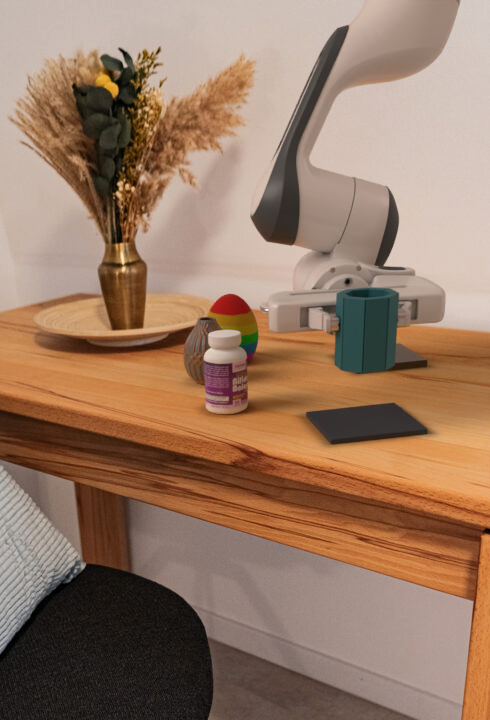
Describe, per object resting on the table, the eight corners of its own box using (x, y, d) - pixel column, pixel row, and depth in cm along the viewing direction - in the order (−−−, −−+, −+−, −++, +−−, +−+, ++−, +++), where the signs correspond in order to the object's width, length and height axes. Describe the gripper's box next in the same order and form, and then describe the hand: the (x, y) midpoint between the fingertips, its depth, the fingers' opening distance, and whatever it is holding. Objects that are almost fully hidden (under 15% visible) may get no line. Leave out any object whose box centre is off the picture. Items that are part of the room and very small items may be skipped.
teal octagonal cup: (381, 355, 97) (385, 285, 94) (401, 369, 92) (406, 295, 88) (329, 360, 97) (331, 290, 94) (346, 375, 91) (348, 301, 88)
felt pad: (394, 407, 102) (394, 402, 102) (427, 434, 93) (428, 428, 93) (305, 416, 101) (305, 411, 101) (331, 444, 92) (331, 439, 92)
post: (399, 349, 126) (404, 260, 120) (427, 366, 117) (433, 270, 111) (334, 356, 125) (336, 266, 119) (357, 374, 116) (360, 277, 110)
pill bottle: (242, 416, 103) (240, 338, 99) (201, 414, 105) (197, 338, 101) (252, 402, 108) (250, 327, 104) (212, 401, 109) (209, 327, 105)
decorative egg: (193, 365, 126) (190, 297, 122) (223, 352, 132) (221, 287, 128) (240, 371, 121) (238, 301, 117) (268, 357, 127) (268, 290, 123)
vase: (226, 388, 114) (223, 324, 110) (178, 387, 116) (174, 324, 113) (239, 374, 120) (237, 312, 116) (193, 373, 122) (190, 312, 118)
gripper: (257, 278, 103) (273, 299, 90) (425, 266, 102) (464, 286, 90) (258, 329, 106) (273, 357, 93) (421, 317, 105) (458, 344, 93)
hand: (368, 322), depth 91 cm, fingers closed on teal octagonal cup, 6 cm apart
